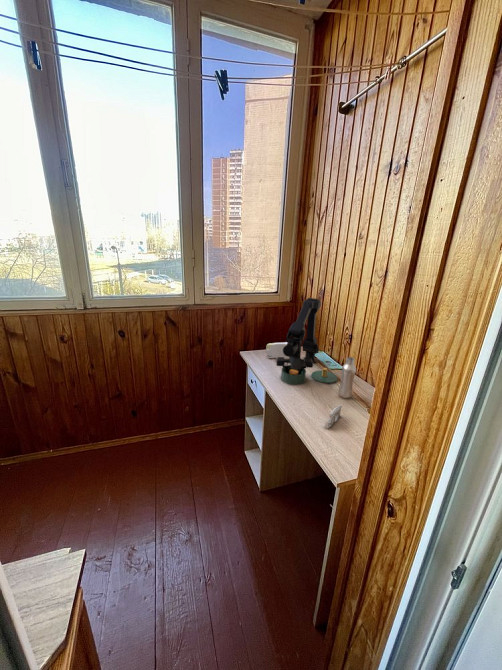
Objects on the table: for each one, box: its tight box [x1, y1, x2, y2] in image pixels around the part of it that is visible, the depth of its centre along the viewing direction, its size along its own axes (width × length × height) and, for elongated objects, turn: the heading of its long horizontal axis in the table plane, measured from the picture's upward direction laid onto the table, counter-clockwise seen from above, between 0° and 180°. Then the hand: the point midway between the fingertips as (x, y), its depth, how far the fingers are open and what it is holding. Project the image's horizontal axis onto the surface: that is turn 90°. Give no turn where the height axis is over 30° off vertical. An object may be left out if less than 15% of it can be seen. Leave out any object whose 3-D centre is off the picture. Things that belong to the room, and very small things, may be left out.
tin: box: [280, 364, 307, 386], centre depth 156 cm, size 13×13×5 cm
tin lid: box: [311, 367, 338, 384], centre depth 158 cm, size 14×14×6 cm
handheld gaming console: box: [265, 341, 289, 359], centre depth 180 cm, size 11×3×15 cm
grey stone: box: [325, 404, 342, 430], centre depth 122 cm, size 12×2×6 cm, turn 140°
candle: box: [289, 370, 298, 375], centre depth 156 cm, size 5×5×4 cm
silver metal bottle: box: [338, 356, 357, 399], centre depth 139 cm, size 6×7×20 cm
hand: (293, 376), depth 157 cm, fingers closed on candle, 5 cm apart
